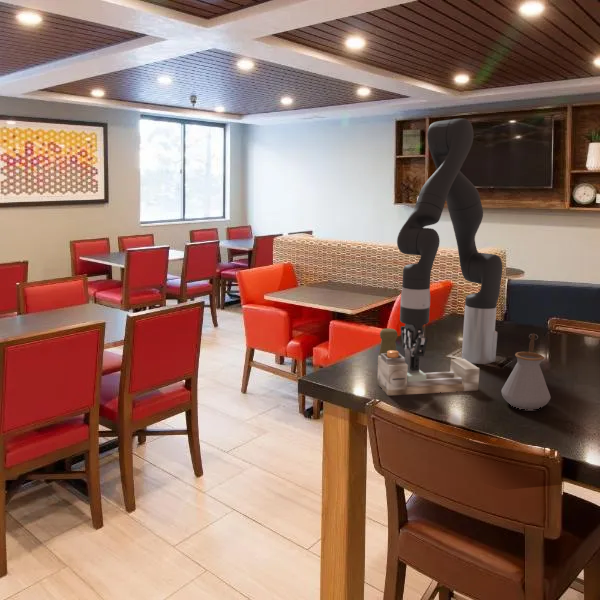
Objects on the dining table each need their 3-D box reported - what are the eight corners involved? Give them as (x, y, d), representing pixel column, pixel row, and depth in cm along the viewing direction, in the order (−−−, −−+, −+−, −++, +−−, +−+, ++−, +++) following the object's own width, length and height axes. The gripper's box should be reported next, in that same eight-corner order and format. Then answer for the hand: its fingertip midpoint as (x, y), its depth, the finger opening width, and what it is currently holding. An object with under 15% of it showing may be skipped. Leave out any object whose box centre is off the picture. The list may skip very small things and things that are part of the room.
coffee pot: (548, 416, 141) (554, 355, 138) (497, 408, 146) (502, 349, 143) (551, 389, 160) (557, 334, 157) (507, 382, 165) (511, 330, 162)
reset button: (396, 357, 159) (396, 350, 158) (400, 360, 156) (400, 353, 156) (385, 357, 158) (385, 350, 158) (389, 361, 155) (389, 353, 155)
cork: (397, 368, 177) (398, 332, 174) (376, 366, 178) (377, 330, 176) (398, 362, 182) (399, 327, 180) (378, 360, 184) (379, 326, 181)
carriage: (415, 371, 163) (416, 344, 162) (426, 380, 156) (427, 353, 154) (397, 372, 163) (398, 345, 161) (408, 381, 155) (409, 353, 153)
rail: (462, 379, 167) (465, 347, 165) (478, 391, 158) (481, 357, 156) (377, 384, 163) (378, 351, 161) (388, 396, 153) (390, 361, 152)
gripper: (439, 309, 149) (435, 375, 153) (418, 298, 163) (415, 359, 166) (411, 310, 148) (408, 377, 151) (392, 299, 161) (389, 361, 165)
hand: (412, 367), depth 159 cm, fingers closed on carriage, 3 cm apart
